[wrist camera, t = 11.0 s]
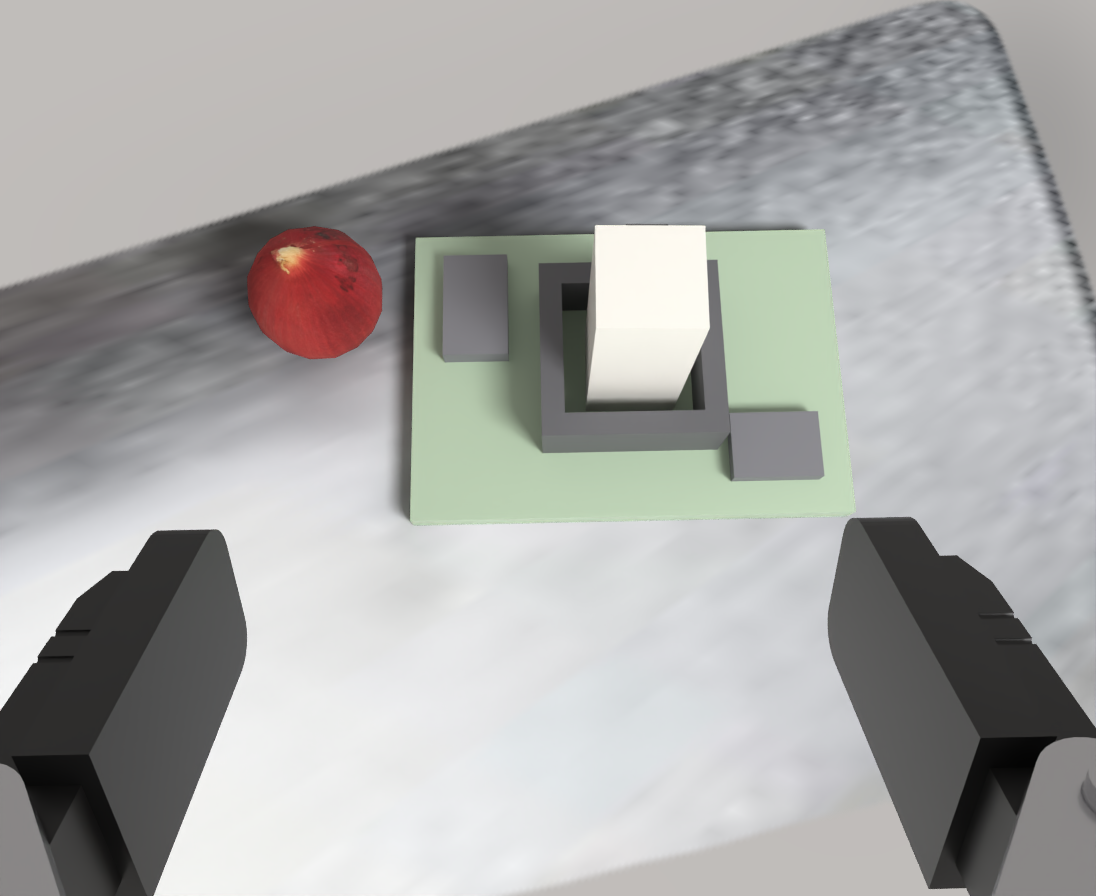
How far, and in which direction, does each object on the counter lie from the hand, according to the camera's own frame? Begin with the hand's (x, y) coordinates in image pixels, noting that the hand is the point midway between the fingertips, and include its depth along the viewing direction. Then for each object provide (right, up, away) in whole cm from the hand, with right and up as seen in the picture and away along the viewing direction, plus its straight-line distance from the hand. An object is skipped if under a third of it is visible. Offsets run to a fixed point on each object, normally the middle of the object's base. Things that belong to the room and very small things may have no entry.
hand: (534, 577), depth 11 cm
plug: (+4, +5, +30) cm, 30 cm away
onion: (-10, +8, +32) cm, 34 cm away
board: (+4, +5, +31) cm, 31 cm away
